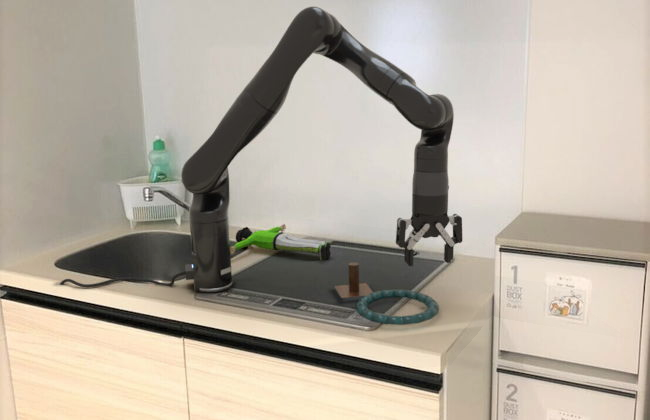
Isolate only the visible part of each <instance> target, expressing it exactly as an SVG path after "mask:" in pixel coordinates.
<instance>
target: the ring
mask: <svg viewBox="0 0 650 420" xmlns="http://www.w3.org/2000/svg"><path fill="white" fill-rule="evenodd" d="M373 292H374V293H370V294H367V295H366V296H362V297H361V298H359V299H358V301H357V303H356V306H355V310H356V312H357V313H358V315H359V316H360V317H362V318H363V319H366V320H368V321H371V322H375V323H380V324H384V325H399V326H405V325H413V324H419V323H423V322H426V321H429V320H431V319H433V318H434V317H436V315H438V314H439V310H440V309H439V308H440V306H439V304H438V302H437V301H436V300H435V299H434V298H433V297H431V296H429V295H428V294H425V293H423V292H420V291H415V290H409V289H384V290H378V291H373ZM387 298H406V299H411V300H415V301H418V302H421V303H423V304H424V305H425V306H426V308H427V309H426V310H424V311H422V312H418V313H416V314H409V315H387V314H382V313H377V312H374V311H373V310H371V309H369V308H368V307H369V305H370V304H371V303H373V302H375V301H377V300H381V299H387Z"/></svg>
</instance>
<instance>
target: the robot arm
mask: <svg viewBox="0 0 650 420" xmlns="http://www.w3.org/2000/svg"><path fill="white" fill-rule="evenodd" d="M313 54H315V55H320V56H322V57H325V58H327V59H329V60H331V61H334V62H335V63H337V64H339V65H341V67H343V68H345V69H347V71H349V72H350V73H352V74H353V75H354V76H355V77H356V78H357V79H358V80H359V81H360V82H362V83H363V85H364V86H366V87H367V88H368V89H370V90H371V91H372V92H373V93H374V94H376V95H378V97H380V98H381V99H382V100H384V101H386V102H387V103H389V104H390V105H392V106H393V107H394V108H395V109H396V111H397V112H398V113H399V114H400V115H401V116H402V117H403V118H404V119H405V120H406V121H407V122H408V123H409V124H411V126H413V127H415V128H416V129H419V130H420V138H419V140H418V141H417V143H416V144H415V146H414V152H413V174H412V182H411V183H412V186H411V187H412V190H411V191H412V192H411V217H410V218H402V217H398V218H397V220H396V231H395V233H396V234H395V244H396V245H397V246H398V247H399V248H400V249H404V255H403V256H404V262H405V263H406V264H407V266H409V267H413V266H414V249H413V248H414V247H415V245H416V244H417V243H419V242H420V240H421V239H422V238H423V239H429V238H438V237H441V239H442V240H443V241H444V242H445V243H444V245H443V247H444V249H443V251H444V252H443V260H444V262H445V263H447V264H449V263H451V262H452V260H453V259H454V247H455V246H456V244H461V243H463V218H462V217H461V215H459V214H457V213H453V214H452V215H448V212H449V189H450V185H449V171H448V169H449V145H450V142H451V138H452V137H451V135H452V131H453V126H454V120H455V119H454V116H455V114H454V112H455V111H454V107H453V103H452V101H451V100H450V99H449V97H448V96H447V95H444V94H441V93H434V94H427V93H426V92H424V91H423V90H422V89H421V88H420V87H418V86H417V82H416V80H415V79H414V78H413V77H412V76H411V75H409V74H408V73H407V72H405V71H404V70H403V69H401V68H400V67H398V66H397V65H396V64H394V63H393V62H391V61H390V60H387V59H386V58H385V57H383V56H381V55H379V54H378V53H376V52H374V51H373V50H371V49H370V48H368V47H367V46H365V45H364V44H363V43H362V42H360V41H359V40H358V39H356V37H354V36H353V35H352V34H351V33H350V32H349V31H348V30H347V29H346V28H345V26H343V25H342V24H341V22H339V20H338V19H337V18H336V16H334V15H333V14H332V13H330V12H328V11H326V10H324V9H323V8H321V7H318V6H308V7H305V8H303V9H301V10H300V11H299V12H298V13H297V14H296V15H295V16H294V18H293V19H292V21H291V22H290V23H289V25H288V27H287V28H286V30H285V31H284V33H283V34H282V37H281V38H280V40H279V41H278V43H277V44H276V46H275V48H274V49H273V51H272V52H271V54H270V55H268V57H267V58H266V60H265V61H264V62H263V64H262V65H261V67H260V68H259V69H258V70H257V72H256V73H255V74H254V75H253V77H252V78H251V79H250V80H249V82H248V83H247V84H246V85H245V87H244V88H243V89H242V91H241V92H240V93H239V95H238V96H237V97H236V98H235V100H234V101H233V103H232V104H231V105H230V107H229V108H228V110H227V111H226V112H225V113H224V115H223V116H222V119H221V120H220V122H219V123H218V124H217V126H216V128H215V129H214V131H213V132H212V133H211V134H210V136H209V137H208V138H207V139H206V141H204V143H203V144H202V145H201V146H200V147H199V148H198V149H197V150H196V151H195V152H193V154H192V155H191V156H190V157H189V158H188V159H186V161H185V162H184V163H183V166H182V169H181V173H180V174H181V175H180V178H181V183H182V186H183V187H184V188H185V190H187V192H189V193H191V194H192V199H191V204H190V206H189V209H188V216H189V218H188V219H189V230H190V231H189V232H190V245H191V259H192V260H191V261H192V263H187V264H185V265H184V271H181V272H178V273H176V274H175V275H173V276H172V277H171V281H170V282H167V283H165V282H161V281H158V280H154V279H149V278H143V277H142V278H141V277H131V276H130V277H129V276H128V277H116V278H112V279H107V280H103V281H100V282H96V283H90V284H89V283H88V284H85V283H81V282H78V281H76V280H73V279H72V278H65V279H63V280H62V281H61V282H60V283H59V285H64V284H65V283H67V282H68V283H71V284H73V285H75V286H78V287H81V288H96V287H99V286H103V285H107V284H111V283H114V282H120V281H135V282H136V281H137V282H142V283H143V282H144V283H151V284H155V285H160V286H165V287H170V286H173V285H174V284H175V280H176V279H177V278H178V277H181V276H183V275H185V280H186V281H192V280H193V289H194V292H195V293H198V292H201V293H219V292H223V291H227V290H228V289H230V288H232V287H233V284H234V283H233V282H234V281H233V273H232V258H231V257H232V256H231V253H230V247H231V241H230V226H229V225H230V224H229V207H230V200H231V197H230V196H231V194H230V192H231V191H230V173H229V166H230V164H231V163H232V161H233V160H234V159H235V158H236V157H237V155H238V154H240V152H241V151H242V150H244V148H246V147H247V146H249V144H251V143H252V142H253V141H254V140H255V139H256V138H257V137H258V136H259V135H260V134H261V133H262V132H263V131H264V130H266V127H268V125H269V124H270V123H271V122H272V121H273V120H274V118H275V117H276V116H277V114H278V113H279V112H280V110H282V108H283V106H284V104H285V102H286V100H287V97H288V95H289V92H290V88H291V85H292V82H293V81H294V78H295V76H296V74H297V72H298V71H299V70H300V69H301V67H302V66H303V65H304V64H305V63H306V61H307V60H308V59H309V58H310V57H311V56H312V55H313ZM449 223H450V225H451V226H452V237H451V236H450V234H449V233H448V231H447V230H446V228H447V226H448V225H449ZM410 225H411V227H412V230H411V231H410V232H409V234H408V236H407V238H406V231H407V230H408V228H409V226H410Z"/></svg>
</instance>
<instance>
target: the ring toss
mask: <svg viewBox="0 0 650 420" xmlns="http://www.w3.org/2000/svg"><path fill="white" fill-rule="evenodd" d="M333 287H334V289H335V291H336V292H337V294H338V295H339V297H340V298H341V299H347V298H356V297H364V296H366V295H367V294H370V293H374V292H375V291H373V290H372V288H370V285H368V284H367V282H362V283H361V282H360V263H358V262H355V261H352V262H349V263H348V284H342V285H341V284H340V285H334V286H333Z"/></svg>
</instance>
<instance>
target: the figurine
mask: <svg viewBox="0 0 650 420" xmlns="http://www.w3.org/2000/svg"><path fill="white" fill-rule="evenodd" d="M286 229H287V225H286V224H285V223H284V224H281V225H280V226H274V227H272V228H269V229H266V230H262V229H261V230H255V231H254V232H253V231H252V230H251V228H249V227H248V226H246V227H242V228H241V229H238V230H237V232H236V233H235V241H236V242H237V243H235V244H234V245H232V246H231V245H230V255H233V254H235V253H236V250H241V249H245V248H248V247H251V246H255V247H257V248H259V249H264V250H268V251H269V250H270V251H277V252H280V251H285V252H286V251H287V252H297V253H301V252H302V253H309V254H314V255H318V257H319V260H320V261H321V262H323V261H325V260H329V259H330V257H331V253H332V252H331V244H330V243H329V242H326V241H323V240H316V239H308V238H300V237H295V236H292V235H290V234H289V233H285V231H286Z"/></svg>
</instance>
